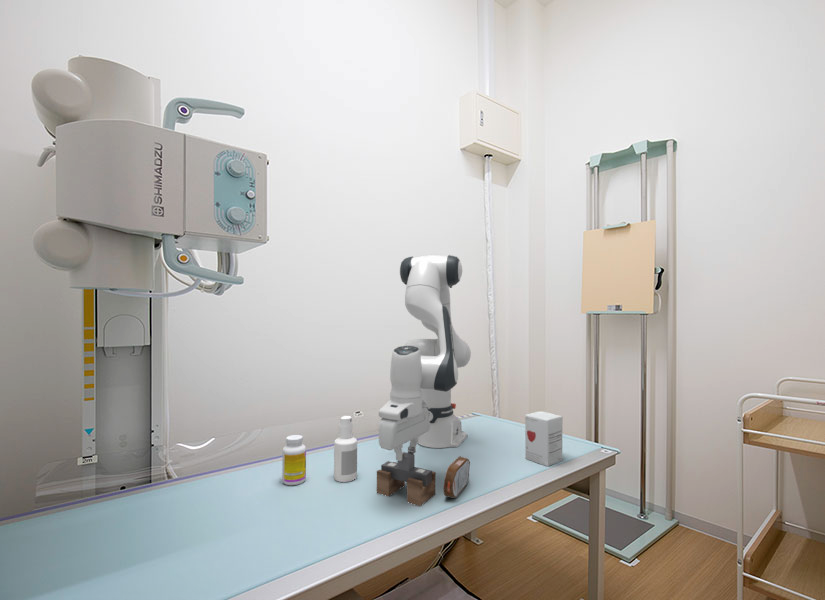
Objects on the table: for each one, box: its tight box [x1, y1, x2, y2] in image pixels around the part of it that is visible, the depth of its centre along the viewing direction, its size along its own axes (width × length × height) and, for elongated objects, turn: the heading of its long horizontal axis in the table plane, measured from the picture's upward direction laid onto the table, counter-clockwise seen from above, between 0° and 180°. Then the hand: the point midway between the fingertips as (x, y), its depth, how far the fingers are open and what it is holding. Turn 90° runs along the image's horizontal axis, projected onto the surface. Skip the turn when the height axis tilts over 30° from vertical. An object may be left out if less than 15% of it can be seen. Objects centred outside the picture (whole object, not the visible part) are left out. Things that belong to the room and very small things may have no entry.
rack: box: [376, 461, 437, 507], centre depth 112 cm, size 8×14×6 cm, turn 57°
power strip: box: [380, 451, 433, 487], centre depth 112 cm, size 4×14×6 cm, turn 61°
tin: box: [443, 456, 471, 499], centre depth 114 cm, size 15×3×8 cm, turn 154°
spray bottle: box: [333, 415, 358, 483], centre depth 123 cm, size 7×7×18 cm
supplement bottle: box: [281, 434, 307, 486], centre depth 120 cm, size 7×7×13 cm
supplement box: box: [524, 410, 563, 467], centre depth 137 cm, size 9×9×15 cm
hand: (406, 456), depth 112 cm, fingers open, 4 cm apart
